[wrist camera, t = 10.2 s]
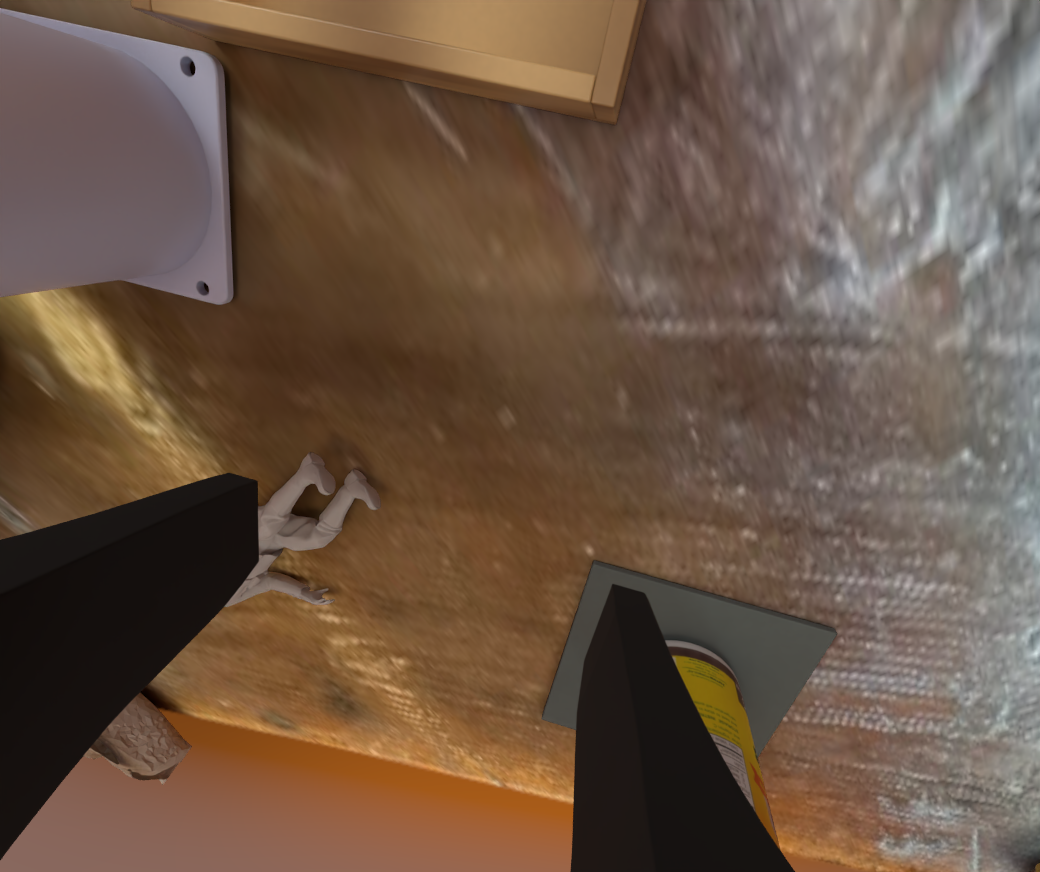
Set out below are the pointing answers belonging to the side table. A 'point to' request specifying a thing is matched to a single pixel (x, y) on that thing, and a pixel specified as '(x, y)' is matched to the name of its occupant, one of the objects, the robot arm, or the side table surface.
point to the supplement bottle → (724, 719)
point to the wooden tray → (444, 43)
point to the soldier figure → (301, 527)
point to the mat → (702, 645)
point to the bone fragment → (141, 742)
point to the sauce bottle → (1036, 868)
